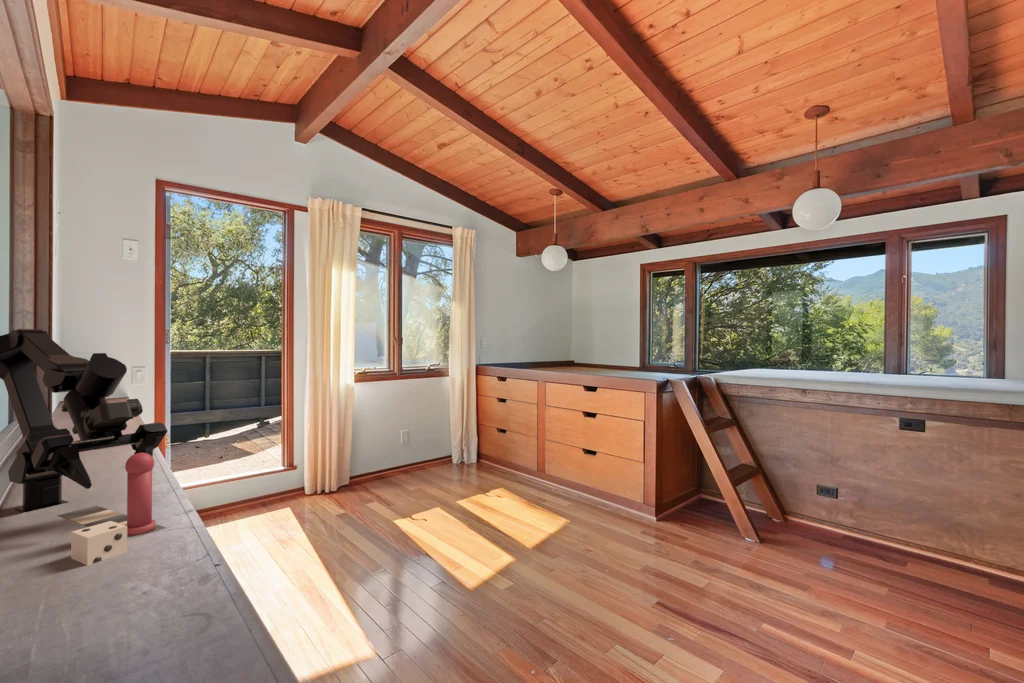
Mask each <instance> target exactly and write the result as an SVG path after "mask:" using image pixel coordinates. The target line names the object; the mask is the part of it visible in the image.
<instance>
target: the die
mask: <svg viewBox="0 0 1024 683" xmlns="http://www.w3.org/2000/svg"><path fill="white" fill-rule="evenodd" d="M70 534H71V537H70V539H71V540H70V541H71V542H70V543H71V544H70V546H71V547H70V550H71V551H70V556H71V557H70V559H72V560H74V561H76V562H78V563H81V564H83V565H86V566H90V565H93V564H96V563H99V562H101V561H104V560H107V559H111V558H114V557H115V556H116V557H117V556H119V555H122V554H126V553H127V552H128V540H127V526H125V525H122V524H119V523H116V522H113V521H108V522H105V523H101V524H98V525H94V526H90V527H88V526H86V527H84V528H81V529H77V530H73V531H71V533H70Z"/></svg>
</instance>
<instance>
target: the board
mask: <svg viewBox="0 0 1024 683" xmlns="http://www.w3.org/2000/svg"><path fill="white" fill-rule="evenodd" d="M56 516H57V517H60V518H63V519H65V520H69V521H72V522H73V523H77V524H79V525H82V526H85V527H90V526H94V525H98V524H101V523H105V522H108V521H113V522H116V523H119V524H122V525H126V524H127V514H124V513H121V512H118V511H114V510H111V509H109V508H108V509H107V508H104V507H102V506H98V505H94V506H89V507H85V508H82V509H77V510H74V511H68V512H65V513H62V514H61V513H60V514H57V515H56ZM165 529H167V526H163V525H160V524H156V523H155V530H153V531H151V532H149V533H146V534H142V535H137V536H127V541H130V540H133V539H136V538H139V537H143V536H146V535H149V534H153V533H155V532H158V531H162V530H165Z"/></svg>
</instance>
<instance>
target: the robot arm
mask: <svg viewBox="0 0 1024 683" xmlns="http://www.w3.org/2000/svg"><path fill="white" fill-rule="evenodd" d="M49 336H50V335H49V332H47V330H43V329H39V328H38V329H37V328H35V329H34V328H27V329H26V328H16V329H13V330H11V331H9V333H6V334H1V335H0V380H3V383H4V385H5V386H4V387H5V388H6V391H7V394H8V397H9V399H10V403H11V406H12V409H13V412H14V415H15V417H16V420H17V424H18V426H19V429H20V432H21V435H22V438H23V439H22V441H21V443H20V444H19V446H18V448H17V450H16V456H15V458H14V460H13V462H12V464H11V466H10V467H9V469H8V471H7V472H8V481H9V482H10V483H13V484H19V485H21V484H22V504H21V505H18V506H15V507H14V510H15V509H16V510H15V511H17V510H19V512H20V511H22V512H21V513H23V512H25V513H26V514H27V513H29V512H33V511H37V510H42V509H47V508H51V507H55V506H59V505H63V504H67V503H69V501H67V500H64V499H63V498H62V497H63V494H62V491H63V489H62V488H63V479H62V478H63V476H64V477H66V478H67V479H70V480H71V481H73V482H75V483H77V484H78V485H80V486H81V487H83V488H85V489H86V490H90V489H91V488H92V480H91V477H90V475H89V473H88V472H87V469H86V467H85V465H84V464H83V461H82V459H81V457H80V453H81V452H88V451H94V450H95V451H98V450H99V451H100V450H105V449H112V448H117V447H123V446H129V445H130V446H131V448H132V450H133V451H134V453H133V455H134V454H137V453H147V454H149V455H151V456H152V457H153V458H154V456H153V455H154V449H157V448H158V447H159V445H160V444H161V443H162V440H163V439H164V438H165V436H166V435H167V433H168V429H167V427H166V425H165V424H164V423H163V422H151V423H144V424H139V425H138V427H137V429H136V430H135V432H132V433H127V434H123V432H122V431H125V430H126V429H127V427H128V424H127V422H128V421H130V420H132V419H133V420H134V418H137V417H138V416H141V414H142V413H143V411H144V410H143V406H142V403H141V402H140V400H139V399H138V398H130V399H126V401H118V402H108V401H107V399H106V398H109V397H110V396H112V395H113V394H114V393H115V391H116V390H117V388H118V387H119V385H120V383H121V381H122V380H123V378H124V377H125V375H126V373H127V371H128V370H127V369H128V368H127V365H125V363H123V362H121V361H120V360H118V359H116V358H114V357H110V356H108V354H107V352H106V353H105V352H93V353H92V355H91V356H90V358H89V360H88V359H86V358H84V357H83V358H82V357H78V356H73V355H71V354H70V353H69V352H67V351H66V350H65V349H64V348H62V347H61V346H60V345H59V344H57V343H56V342H55V340H53V339H52V338H51V337H49ZM37 367H38V368H40V370H42V372H43V376H42V382H43V384H44V386H45V387H47V389H48V390H49V392H51V393H54V394H56V393H66V394H65V396H64V397H63V400H62V401H63V404H62V406H61V412H62V413H66V412H68V414H69V417H70V419H71V421H72V424H73V427H72V428H71V432H72V433H73V435H77V436H78V437H79V440H74V437H73V435H72V434H71V432H70V430H69V429H67V428H57V427H56V426H55V425H54V422H53V420H52V416H51V415H50V414H51V413H50V411H49V409H48V406H47V403H46V399H45V397H44V395H43V393H42V389H41V387H40V383H39V381H38V378H37V376H36V373H35V369H36V368H37ZM25 513H24V514H25Z"/></svg>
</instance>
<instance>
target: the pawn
mask: <svg viewBox="0 0 1024 683" xmlns="http://www.w3.org/2000/svg"><path fill="white" fill-rule="evenodd" d="M154 467H155V460H154V456H153V457H152V456H151V455H149V454H147V453H137V454H134V453H133V454H132V455H131V456H129V458H128V459H127V460H126V462H125V465H124V469H125V471H126V472H127V480H126V481H127V482H126V484H127V486H126V488H127V489H126V491H127V492H126V494H127V495H126V496H127V497H126V503H127V504H126V515H127V524H126V525H125V526H127V536H137V535H142V534H146V533H149V532H151V531H153V530H155V524H156V520H155V519H153V469H154ZM149 534H150V533H149ZM146 535H147V534H146Z"/></svg>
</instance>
